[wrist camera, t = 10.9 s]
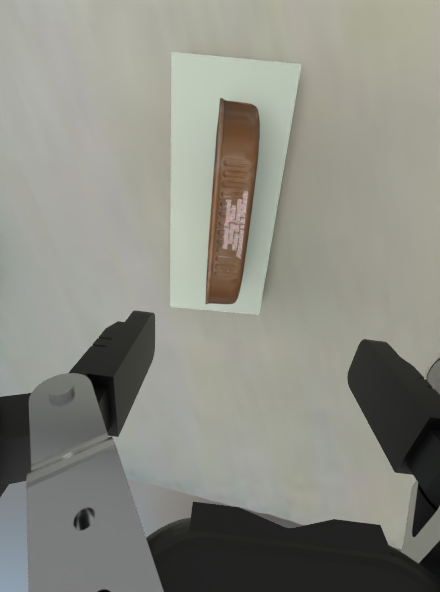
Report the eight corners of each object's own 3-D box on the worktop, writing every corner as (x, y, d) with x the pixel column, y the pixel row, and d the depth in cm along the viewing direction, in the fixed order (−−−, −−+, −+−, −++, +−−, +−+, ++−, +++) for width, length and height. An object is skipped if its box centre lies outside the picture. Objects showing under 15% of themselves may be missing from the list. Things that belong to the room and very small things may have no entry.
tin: (218, 112, 22) (211, 77, 14) (256, 116, 22) (270, 84, 14) (205, 281, 28) (196, 322, 20) (235, 284, 28) (236, 326, 20)
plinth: (288, 84, 25) (301, 64, 20) (255, 296, 34) (259, 315, 29) (182, 74, 25) (171, 51, 20) (178, 289, 34) (170, 306, 29)
